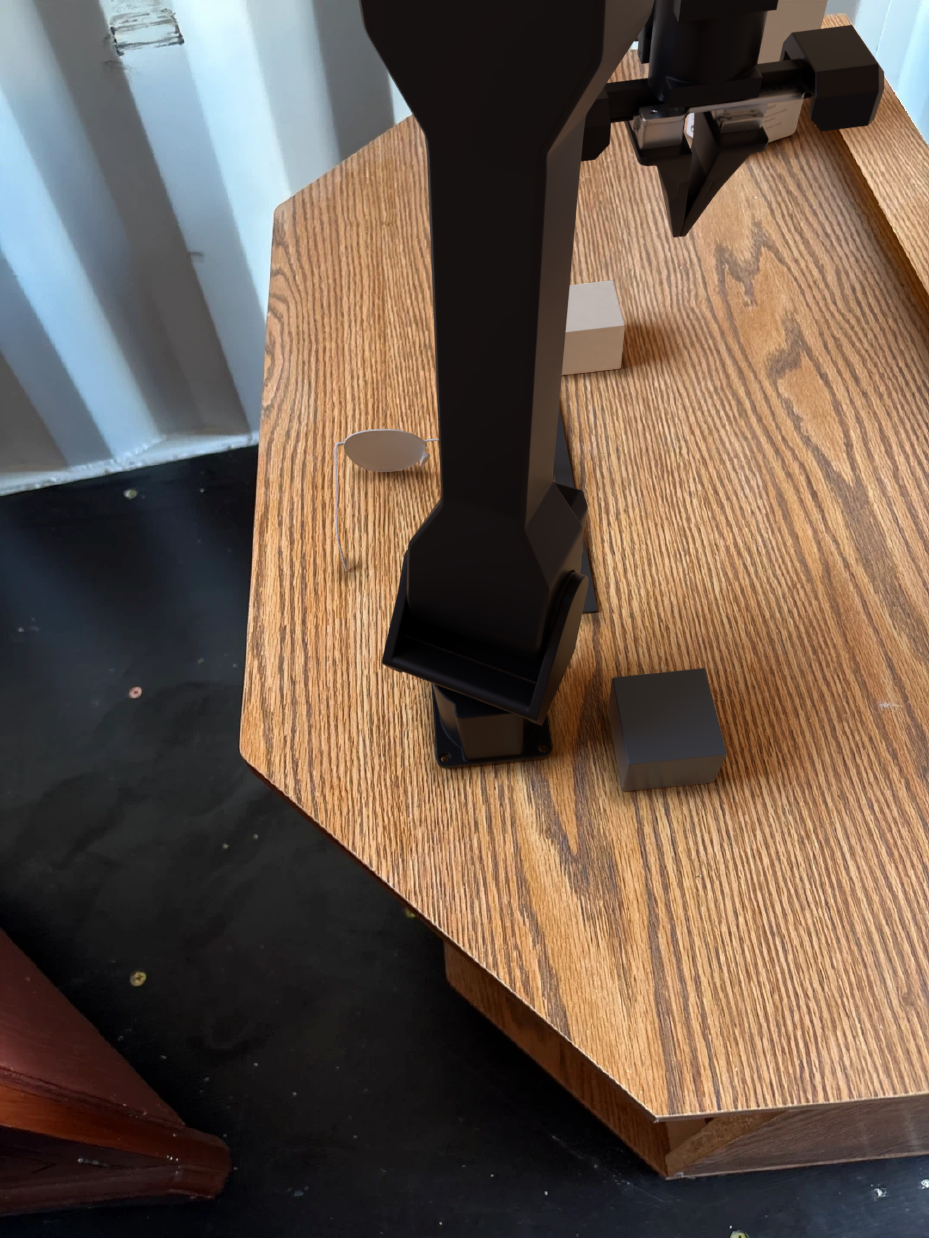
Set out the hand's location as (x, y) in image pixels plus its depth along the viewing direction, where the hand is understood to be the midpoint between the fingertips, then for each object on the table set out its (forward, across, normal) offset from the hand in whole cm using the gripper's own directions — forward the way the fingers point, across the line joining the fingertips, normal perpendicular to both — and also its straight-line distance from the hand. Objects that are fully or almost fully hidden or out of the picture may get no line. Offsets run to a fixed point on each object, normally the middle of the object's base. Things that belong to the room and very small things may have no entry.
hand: (677, 233), depth 55 cm
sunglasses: (+10, +17, +12) cm, 24 cm away
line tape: (+10, +9, -4) cm, 14 cm away
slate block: (+10, +6, +30) cm, 33 cm away
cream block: (+10, +6, -2) cm, 12 cm away
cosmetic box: (+10, -13, -27) cm, 32 cm away
